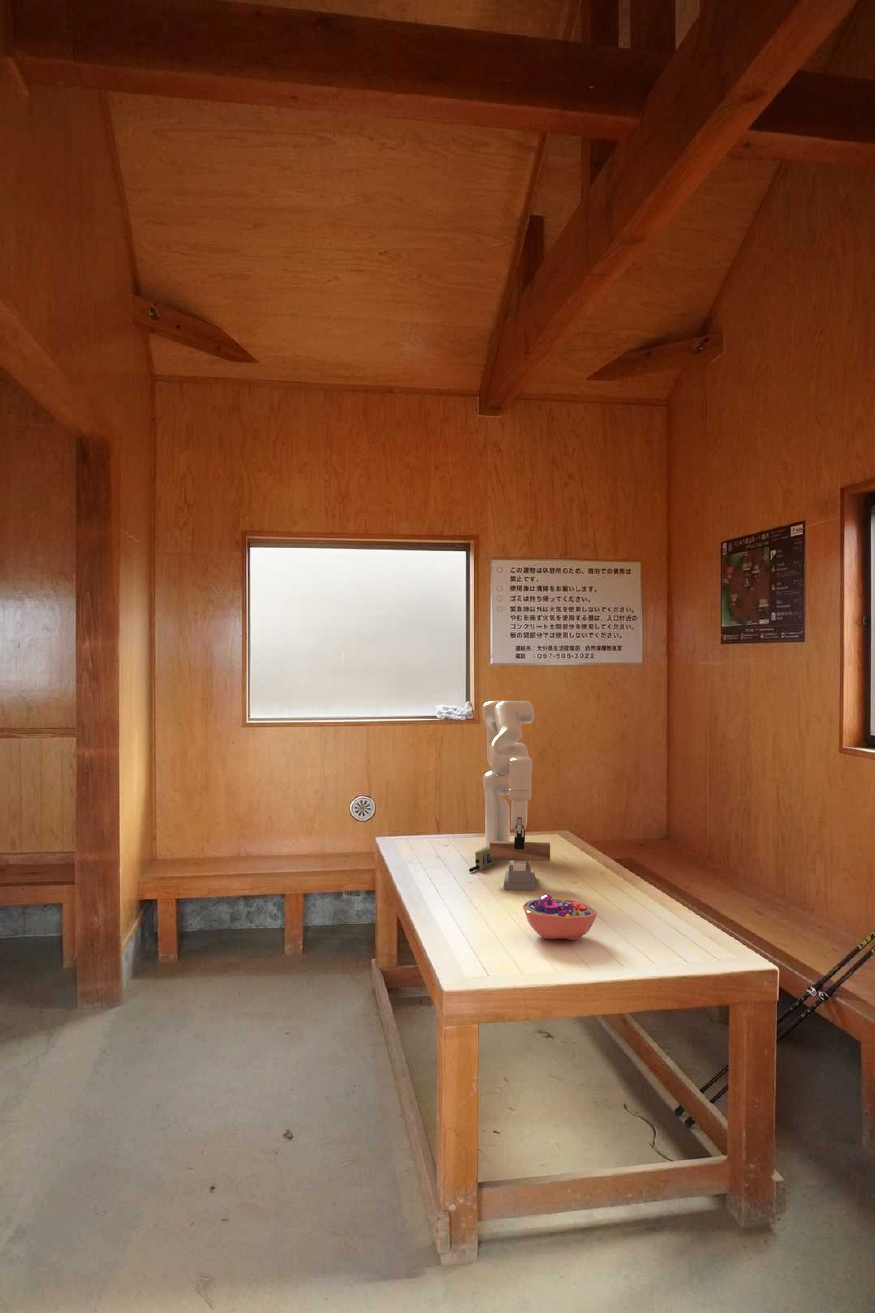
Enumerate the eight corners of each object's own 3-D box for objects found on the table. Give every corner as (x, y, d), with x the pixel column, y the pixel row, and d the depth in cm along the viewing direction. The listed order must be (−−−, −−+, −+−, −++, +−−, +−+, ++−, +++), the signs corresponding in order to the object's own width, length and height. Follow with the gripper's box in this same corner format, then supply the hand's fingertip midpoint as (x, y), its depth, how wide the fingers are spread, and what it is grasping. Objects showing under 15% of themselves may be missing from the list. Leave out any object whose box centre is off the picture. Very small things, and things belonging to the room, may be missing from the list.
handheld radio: (506, 860, 310) (474, 874, 288) (498, 859, 311) (466, 873, 290) (506, 842, 310) (474, 855, 288) (498, 841, 311) (466, 854, 290)
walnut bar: (490, 857, 279) (490, 841, 279) (550, 859, 277) (550, 842, 277) (489, 859, 276) (489, 843, 276) (550, 861, 273) (550, 845, 273)
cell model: (584, 954, 210) (584, 910, 210) (512, 941, 219) (512, 898, 219) (605, 935, 224) (605, 893, 224) (536, 923, 234) (536, 883, 234)
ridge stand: (506, 876, 284) (506, 853, 284) (535, 877, 283) (535, 854, 283) (503, 889, 269) (503, 865, 269) (534, 890, 267) (534, 866, 267)
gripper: (509, 789, 285) (509, 839, 285) (507, 799, 268) (507, 851, 268) (531, 790, 284) (531, 840, 284) (530, 799, 267) (530, 852, 267)
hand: (519, 845), depth 276 cm, fingers open, 9 cm apart
